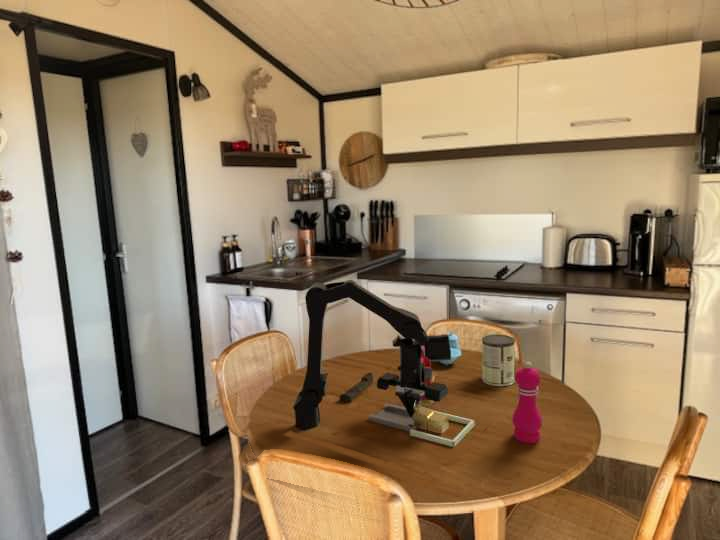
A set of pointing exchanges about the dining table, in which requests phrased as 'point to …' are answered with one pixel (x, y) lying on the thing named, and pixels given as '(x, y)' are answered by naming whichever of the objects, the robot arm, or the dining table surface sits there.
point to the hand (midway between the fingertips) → (412, 416)
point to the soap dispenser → (453, 348)
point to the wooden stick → (357, 388)
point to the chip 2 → (438, 423)
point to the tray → (445, 441)
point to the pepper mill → (527, 405)
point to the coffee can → (498, 360)
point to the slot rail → (394, 417)
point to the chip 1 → (422, 417)
